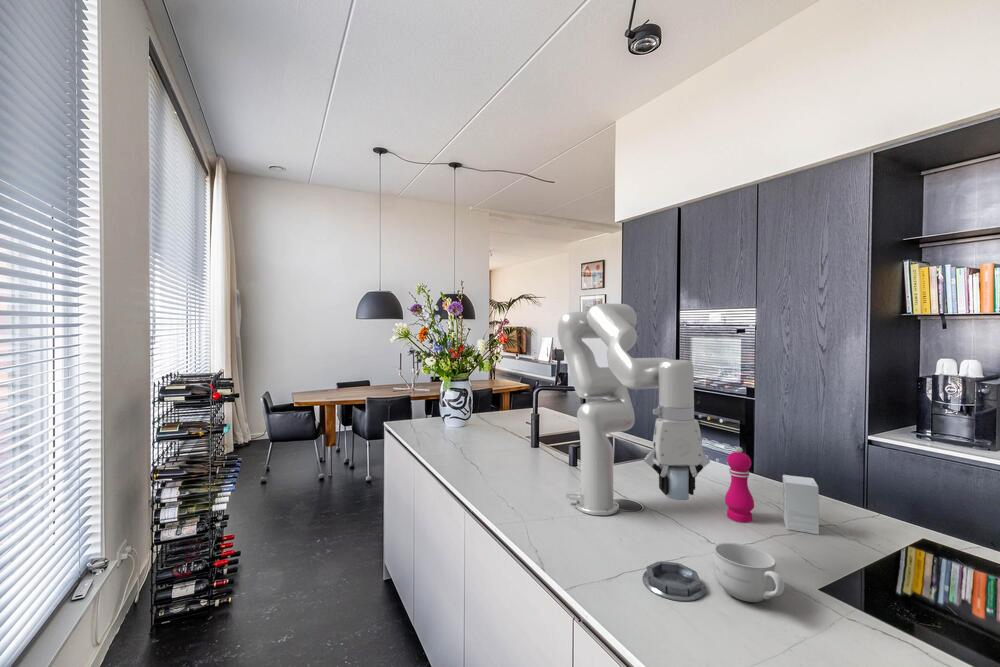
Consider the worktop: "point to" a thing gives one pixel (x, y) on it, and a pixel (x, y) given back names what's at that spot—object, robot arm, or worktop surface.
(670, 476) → the grey domed cylinder
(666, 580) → the faceted metallic bowl
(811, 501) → the supplement box
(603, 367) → the robot arm
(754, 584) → the teacup
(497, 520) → the worktop surface
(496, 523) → the worktop surface
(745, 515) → the pepper mill
